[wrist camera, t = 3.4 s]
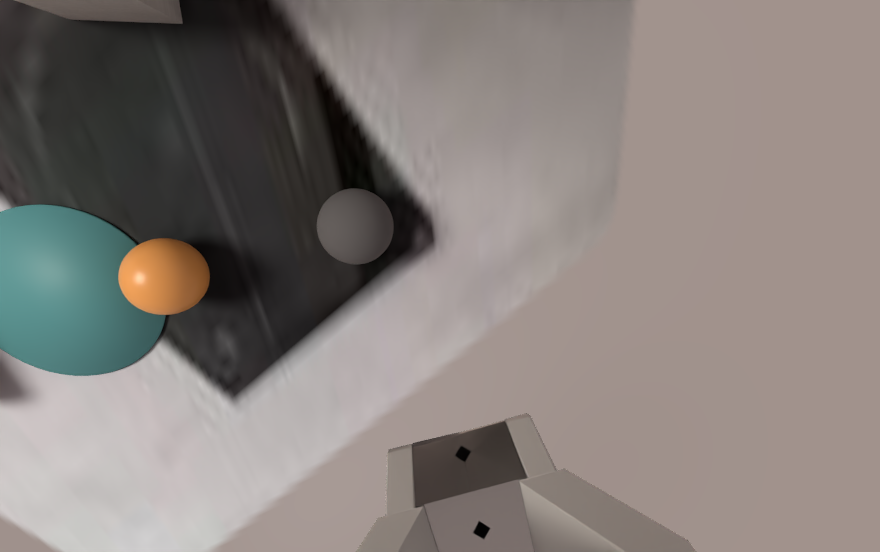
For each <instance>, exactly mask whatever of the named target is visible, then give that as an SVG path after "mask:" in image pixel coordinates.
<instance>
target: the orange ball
mask: <svg viewBox="0 0 880 552" xmlns="http://www.w3.org/2000/svg"><path fill="white" fill-rule="evenodd" d="M118 280H119V285H120V288H121V290H122V293H123V294H124V296H125V297H126V298H127V300H128V301H129V302H130V303H131V304H133V305H134V306H135V307H137V308H139V309H141V310H143V311H145V312H148V313H152V314H157V315H171V314H176V313H180V312H183V311H185V310H187V309H189V308H191V307H193V306H194V305H195V304H197V303H198V302H199V301H200V300H201V298H202V297H203V296H204V295H205V293H206V291H207V288H208V286H209V281H210V272H209V267H208V265H207V262H206V260H205V259H204V257H203V256H202V255H201V253H200V252H199V251H198V250H196V249H195V248H194V247H192V246H191V245H189V244H187V243H185V242H183V241H180V240H176V239H170V238H159V239H152V240H149V241H146V242H143V243H141V244H139V245H137V246H136V247H134V248H133V249H132V250H131V251H130V252H129V253H128V254H127V255H126V256H125V257H124V259H123V261H122V263H121V265H120V268H119V274H118Z"/></svg>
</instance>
